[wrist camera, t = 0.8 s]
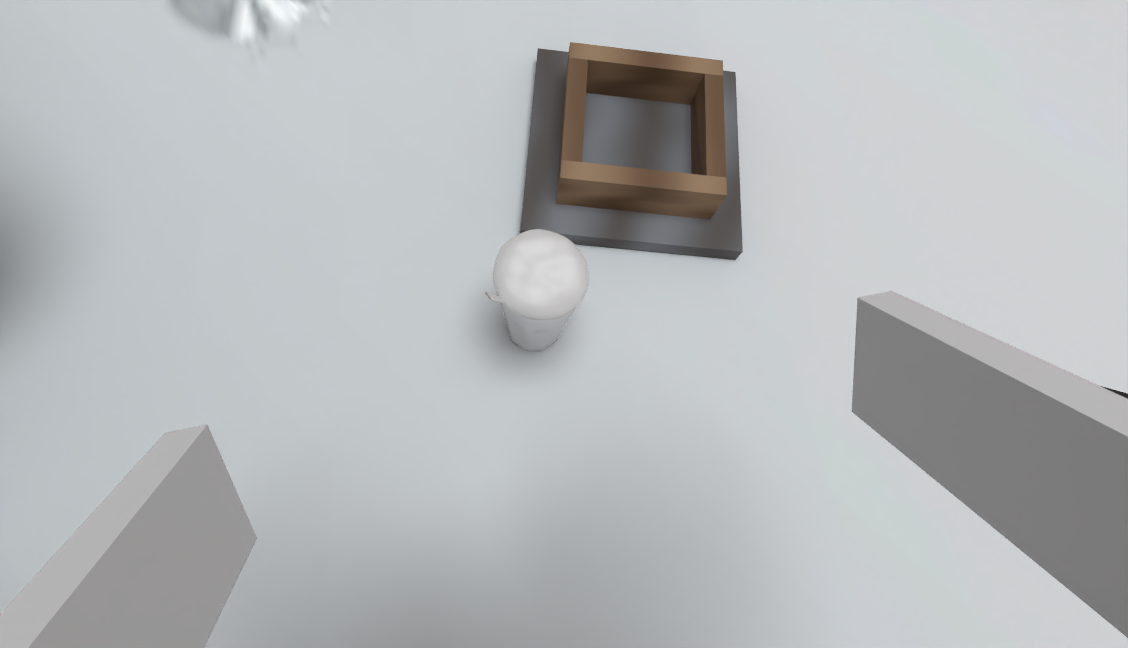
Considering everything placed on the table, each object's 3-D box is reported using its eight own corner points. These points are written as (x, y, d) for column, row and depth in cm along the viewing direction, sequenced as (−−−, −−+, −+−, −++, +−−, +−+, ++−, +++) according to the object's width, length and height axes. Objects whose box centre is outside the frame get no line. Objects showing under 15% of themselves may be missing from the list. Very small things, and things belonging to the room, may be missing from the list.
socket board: (520, 238, 37) (522, 205, 33) (537, 61, 41) (540, 13, 38) (735, 259, 38) (762, 229, 34) (729, 84, 42) (752, 39, 38)
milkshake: (469, 327, 35) (456, 256, 25) (540, 277, 36) (552, 193, 27) (516, 386, 34) (519, 336, 25) (586, 333, 35) (615, 266, 26)
